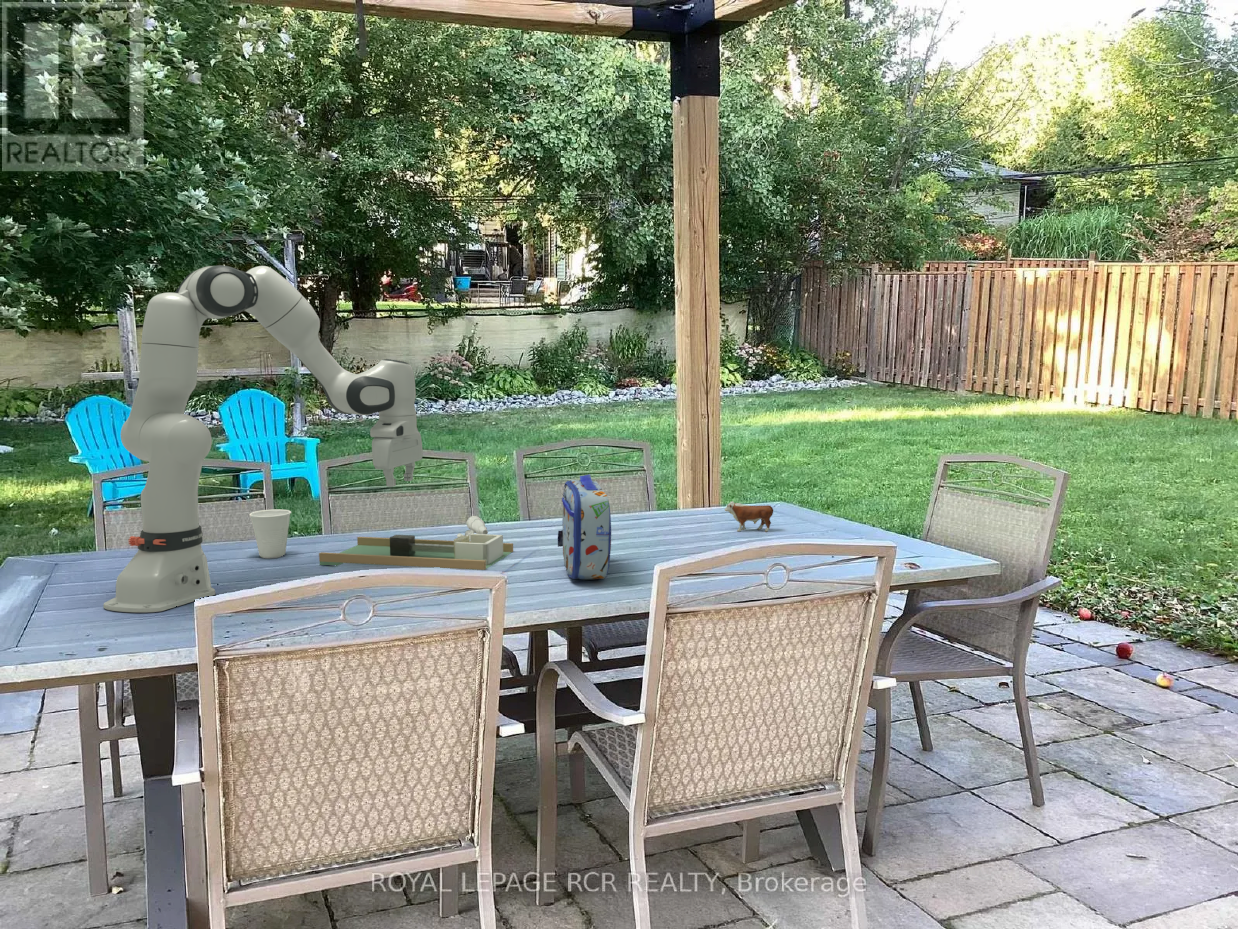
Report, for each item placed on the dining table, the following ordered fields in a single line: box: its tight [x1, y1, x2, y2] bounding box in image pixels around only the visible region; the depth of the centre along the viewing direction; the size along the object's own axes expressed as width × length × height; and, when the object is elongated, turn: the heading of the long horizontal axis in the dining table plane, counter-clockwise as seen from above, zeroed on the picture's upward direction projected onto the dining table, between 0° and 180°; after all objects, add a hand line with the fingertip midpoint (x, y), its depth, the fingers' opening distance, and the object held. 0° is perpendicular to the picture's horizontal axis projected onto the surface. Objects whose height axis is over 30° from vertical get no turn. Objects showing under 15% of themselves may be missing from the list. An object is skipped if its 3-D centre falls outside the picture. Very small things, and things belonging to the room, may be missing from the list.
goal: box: [455, 533, 504, 565], centre depth 242 cm, size 11×8×5 cm
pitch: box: [318, 536, 514, 571], centre depth 245 cm, size 20×42×3 cm, turn 77°
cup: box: [248, 508, 292, 559], centre depth 251 cm, size 10×10×11 cm
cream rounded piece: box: [456, 515, 489, 542], centre depth 264 cm, size 8×14×5 cm
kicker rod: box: [389, 534, 470, 559], centre depth 245 cm, size 5×19×5 cm, turn 77°
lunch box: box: [557, 474, 612, 580], centre depth 231 cm, size 28×10×22 cm, turn 9°
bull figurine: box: [724, 501, 774, 533], centre depth 279 cm, size 4×13×8 cm, turn 82°
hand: (399, 483), depth 244 cm, fingers open, 8 cm apart
